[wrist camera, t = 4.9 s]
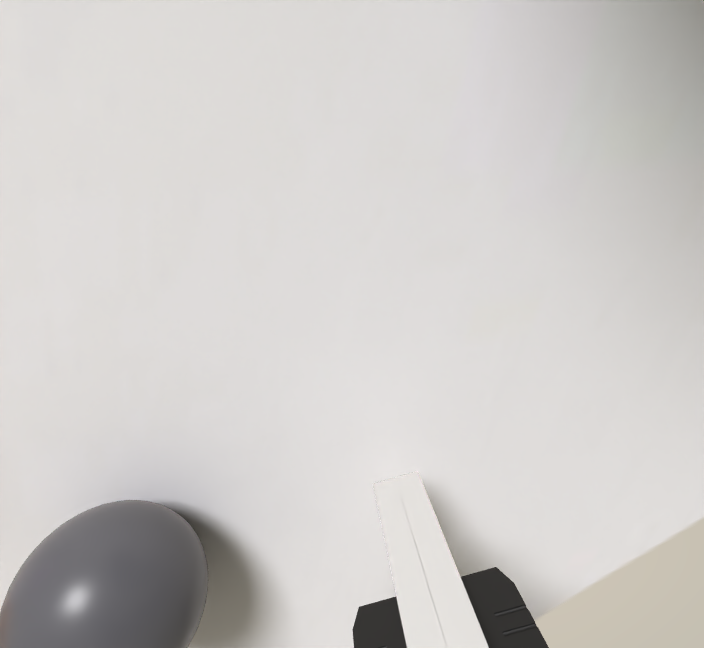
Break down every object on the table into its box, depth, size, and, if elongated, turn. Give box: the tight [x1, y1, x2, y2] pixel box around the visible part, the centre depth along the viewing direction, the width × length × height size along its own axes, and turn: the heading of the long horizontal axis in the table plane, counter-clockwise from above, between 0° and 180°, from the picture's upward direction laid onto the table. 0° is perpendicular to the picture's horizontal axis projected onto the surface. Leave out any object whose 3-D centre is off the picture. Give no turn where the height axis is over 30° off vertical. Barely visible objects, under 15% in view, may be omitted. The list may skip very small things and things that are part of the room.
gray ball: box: [0, 500, 208, 648], centre depth 13 cm, size 6×6×6 cm
